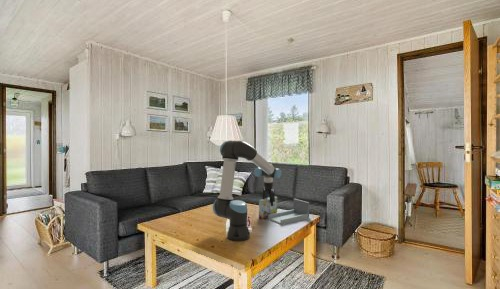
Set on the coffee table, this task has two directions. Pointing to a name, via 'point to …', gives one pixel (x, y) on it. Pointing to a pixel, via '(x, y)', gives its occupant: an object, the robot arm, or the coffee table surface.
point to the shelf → (292, 213)
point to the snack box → (266, 207)
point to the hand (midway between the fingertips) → (268, 208)
